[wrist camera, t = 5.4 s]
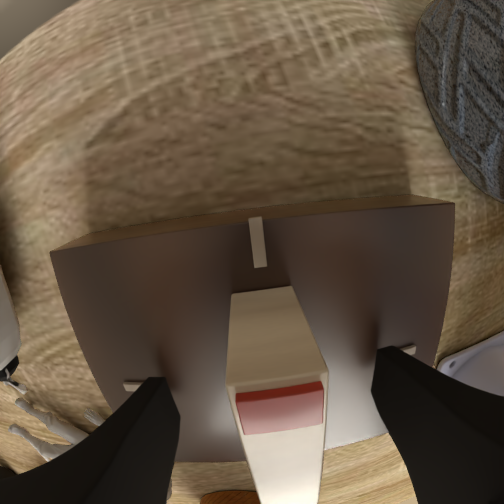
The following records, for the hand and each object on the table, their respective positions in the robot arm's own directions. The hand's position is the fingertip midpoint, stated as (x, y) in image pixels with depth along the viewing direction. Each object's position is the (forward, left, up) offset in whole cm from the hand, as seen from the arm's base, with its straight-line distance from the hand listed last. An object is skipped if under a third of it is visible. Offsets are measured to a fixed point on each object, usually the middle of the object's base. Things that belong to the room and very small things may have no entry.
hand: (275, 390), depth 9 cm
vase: (-14, -11, -4) cm, 18 cm away
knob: (0, 0, -1) cm, 1 cm away
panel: (0, 0, -4) cm, 4 cm away
